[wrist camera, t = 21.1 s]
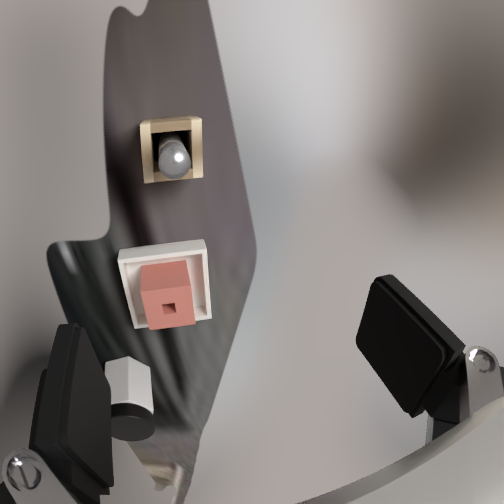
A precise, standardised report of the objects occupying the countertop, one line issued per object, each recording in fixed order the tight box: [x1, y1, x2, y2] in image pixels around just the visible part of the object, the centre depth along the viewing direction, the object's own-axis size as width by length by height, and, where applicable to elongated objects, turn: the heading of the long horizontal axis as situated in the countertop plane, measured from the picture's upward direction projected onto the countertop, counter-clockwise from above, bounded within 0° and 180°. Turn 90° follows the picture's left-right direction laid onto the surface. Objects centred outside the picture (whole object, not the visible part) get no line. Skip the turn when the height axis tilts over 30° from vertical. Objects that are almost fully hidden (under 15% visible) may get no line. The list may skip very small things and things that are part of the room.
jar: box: [105, 356, 155, 441], centre depth 43 cm, size 9×8×12 cm
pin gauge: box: [159, 132, 191, 179], centre depth 29 cm, size 3×3×12 cm
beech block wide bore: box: [140, 116, 203, 183], centre depth 31 cm, size 6×6×6 cm
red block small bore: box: [140, 260, 196, 330], centre depth 39 cm, size 6×6×6 cm
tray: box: [118, 239, 212, 329], centre depth 41 cm, size 11×11×3 cm
